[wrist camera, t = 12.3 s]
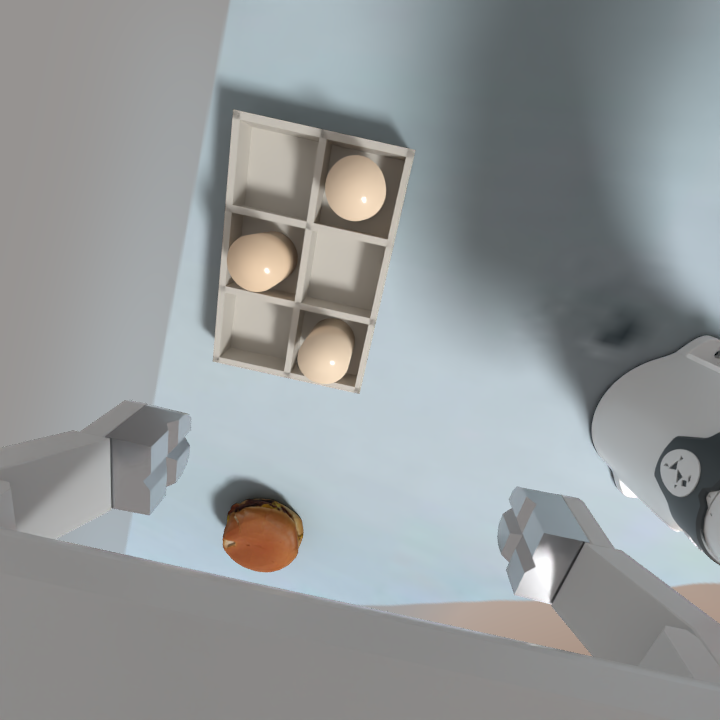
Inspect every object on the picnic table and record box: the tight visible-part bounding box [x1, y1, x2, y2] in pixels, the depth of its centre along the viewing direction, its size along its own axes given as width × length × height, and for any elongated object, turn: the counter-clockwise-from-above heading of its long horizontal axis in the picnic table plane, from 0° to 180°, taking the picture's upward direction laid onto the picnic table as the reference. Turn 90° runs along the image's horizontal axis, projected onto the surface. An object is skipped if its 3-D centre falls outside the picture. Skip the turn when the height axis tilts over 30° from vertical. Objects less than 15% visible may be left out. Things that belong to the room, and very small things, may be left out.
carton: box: [213, 109, 415, 394], centre depth 37 cm, size 15×22×4 cm
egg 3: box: [325, 155, 387, 221], centre depth 33 cm, size 5×5×6 cm
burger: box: [223, 499, 303, 572], centre depth 49 cm, size 10×9×5 cm
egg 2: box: [297, 318, 355, 384], centre depth 38 cm, size 5×5×6 cm
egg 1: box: [227, 231, 298, 292], centre depth 36 cm, size 5×5×6 cm
